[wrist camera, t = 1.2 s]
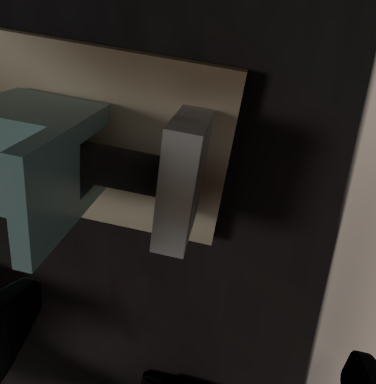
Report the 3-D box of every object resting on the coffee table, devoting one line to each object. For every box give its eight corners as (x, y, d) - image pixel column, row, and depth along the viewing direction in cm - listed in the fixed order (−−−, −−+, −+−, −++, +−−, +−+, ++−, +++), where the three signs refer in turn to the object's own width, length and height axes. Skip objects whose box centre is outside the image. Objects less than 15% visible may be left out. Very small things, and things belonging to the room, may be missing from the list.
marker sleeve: (106, 187, 20) (32, 273, 14) (24, 170, 21) (-88, 246, 14) (109, 104, 18) (22, 157, 11) (17, 87, 19) (-120, 128, 12)
